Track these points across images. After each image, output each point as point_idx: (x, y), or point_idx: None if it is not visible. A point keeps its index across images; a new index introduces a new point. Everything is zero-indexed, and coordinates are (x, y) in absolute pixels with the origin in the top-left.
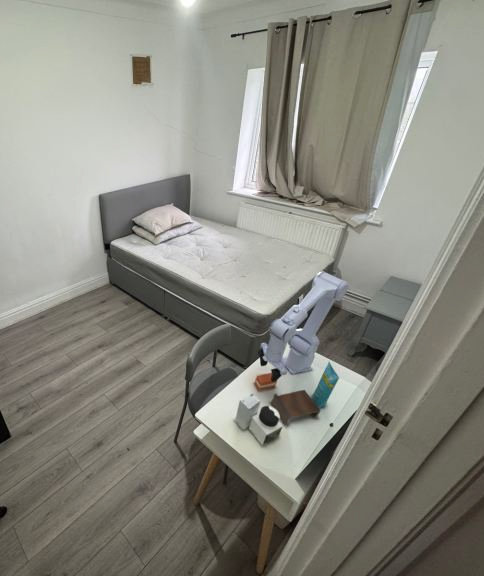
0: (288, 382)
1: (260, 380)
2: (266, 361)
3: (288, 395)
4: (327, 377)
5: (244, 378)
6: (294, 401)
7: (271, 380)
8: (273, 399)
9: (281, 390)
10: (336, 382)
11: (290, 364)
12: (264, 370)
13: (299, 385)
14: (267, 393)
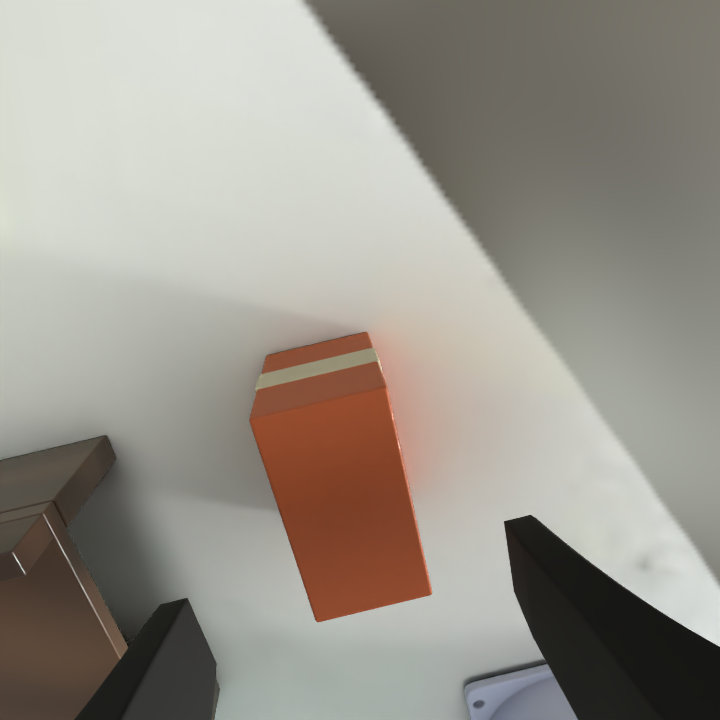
0: (374, 636)
1: (294, 419)
2: (565, 675)
3: (92, 667)
4: None
5: (449, 232)
6: (11, 702)
7: (165, 612)
8: (49, 490)
9: (282, 564)
10: None
11: None
12: (534, 478)
13: (340, 701)
14: (238, 433)
